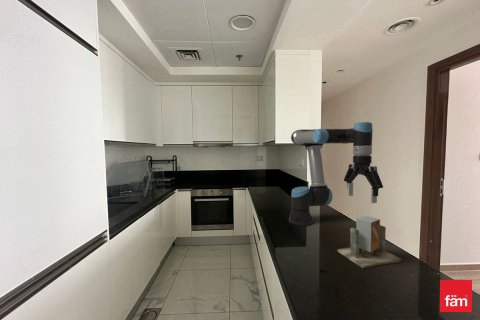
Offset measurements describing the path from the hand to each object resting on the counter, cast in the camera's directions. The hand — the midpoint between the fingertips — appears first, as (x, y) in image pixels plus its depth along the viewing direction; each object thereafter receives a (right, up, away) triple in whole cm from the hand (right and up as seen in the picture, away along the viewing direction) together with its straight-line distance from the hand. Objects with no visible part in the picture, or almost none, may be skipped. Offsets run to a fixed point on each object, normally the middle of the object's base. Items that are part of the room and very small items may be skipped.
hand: (361, 199), depth 93 cm
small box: (-1, -21, -6) cm, 22 cm away
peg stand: (-1, -24, -6) cm, 25 cm away
